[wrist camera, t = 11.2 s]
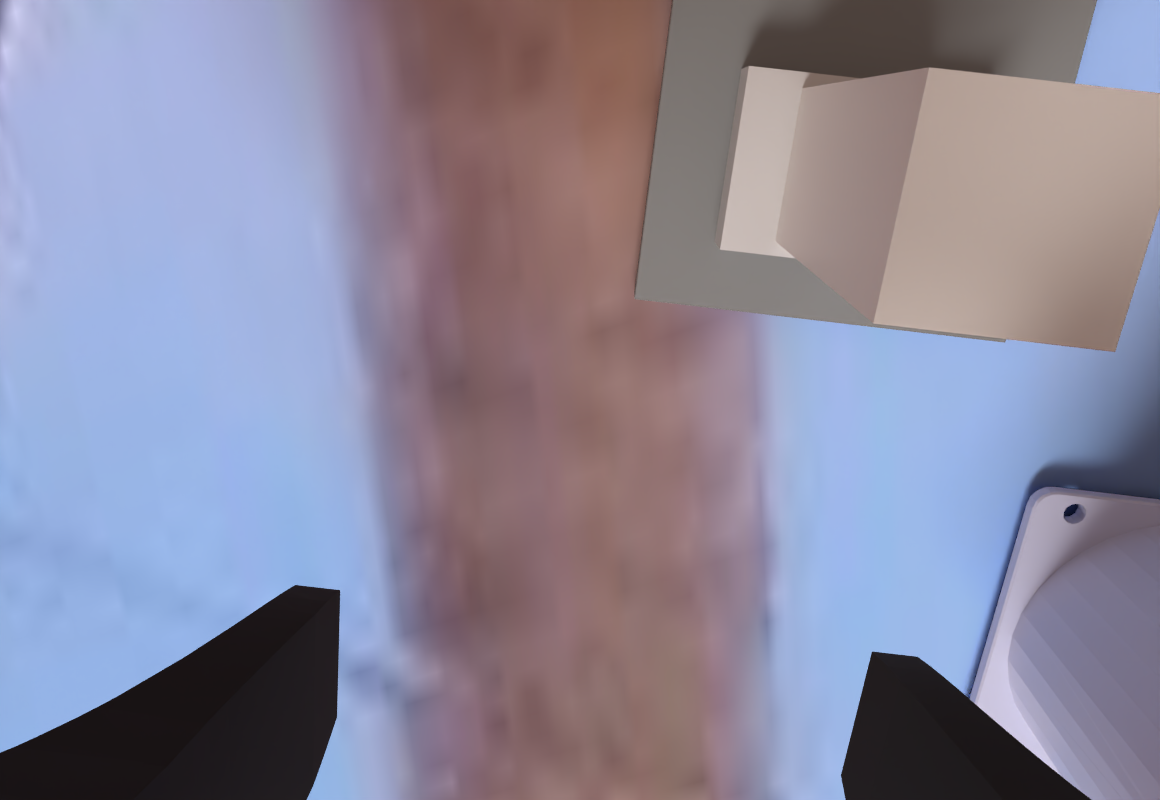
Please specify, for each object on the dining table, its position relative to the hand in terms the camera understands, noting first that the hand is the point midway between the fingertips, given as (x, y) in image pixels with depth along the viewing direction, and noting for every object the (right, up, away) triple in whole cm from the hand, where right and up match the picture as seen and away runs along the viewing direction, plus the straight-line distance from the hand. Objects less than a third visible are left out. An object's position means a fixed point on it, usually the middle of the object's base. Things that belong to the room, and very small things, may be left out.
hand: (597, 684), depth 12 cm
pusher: (+6, +9, +7) cm, 12 cm away
